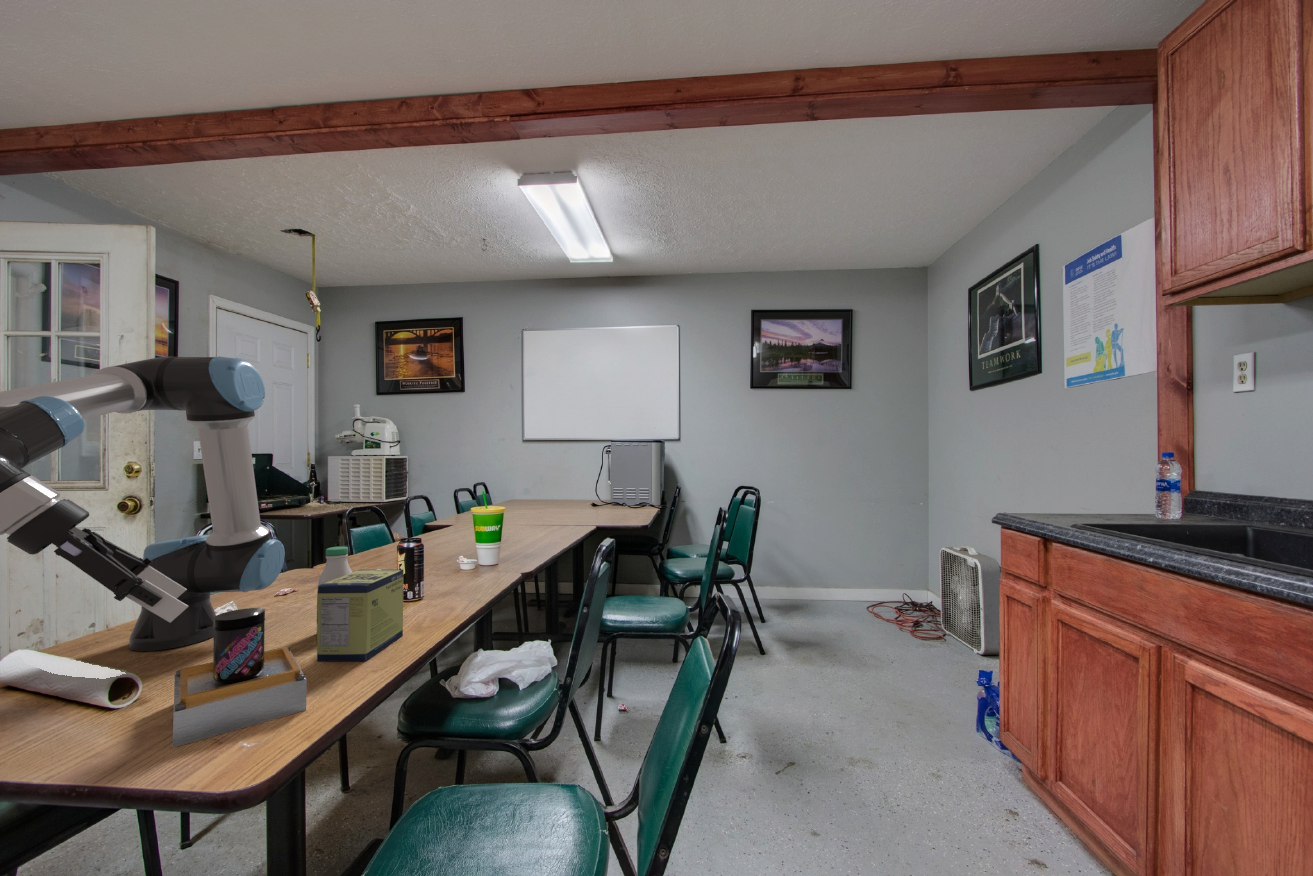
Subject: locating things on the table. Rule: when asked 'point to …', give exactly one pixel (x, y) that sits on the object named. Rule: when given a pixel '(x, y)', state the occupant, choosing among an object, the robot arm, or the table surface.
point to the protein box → (359, 615)
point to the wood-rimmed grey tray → (236, 698)
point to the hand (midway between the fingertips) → (179, 604)
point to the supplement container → (238, 645)
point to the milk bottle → (334, 566)
